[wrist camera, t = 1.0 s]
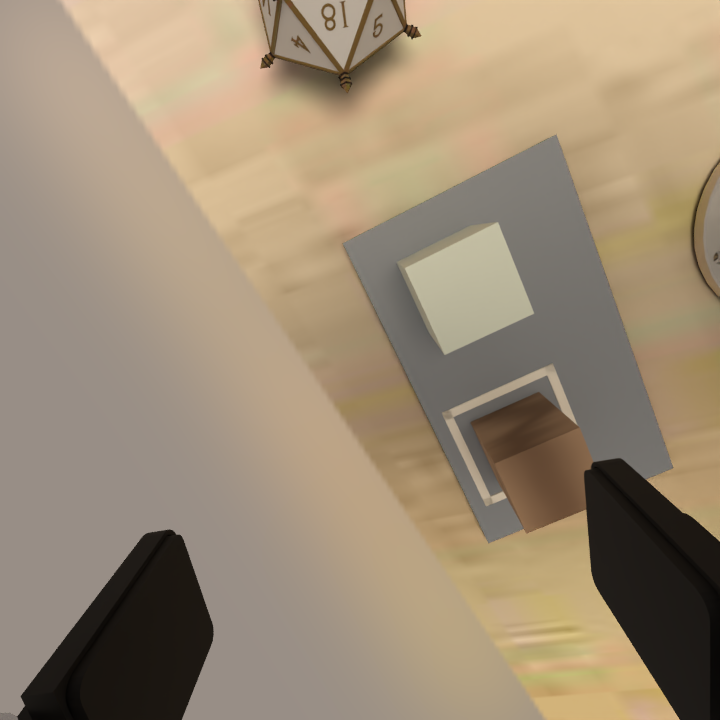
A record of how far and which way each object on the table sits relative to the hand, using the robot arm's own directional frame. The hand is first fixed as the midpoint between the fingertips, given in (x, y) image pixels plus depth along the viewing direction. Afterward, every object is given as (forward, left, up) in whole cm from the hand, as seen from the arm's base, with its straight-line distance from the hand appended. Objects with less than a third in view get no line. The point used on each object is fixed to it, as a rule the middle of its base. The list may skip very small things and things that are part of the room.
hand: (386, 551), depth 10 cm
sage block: (-6, -2, -20) cm, 21 cm away
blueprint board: (-8, +5, -21) cm, 23 cm away
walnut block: (-6, +10, -20) cm, 24 cm away
